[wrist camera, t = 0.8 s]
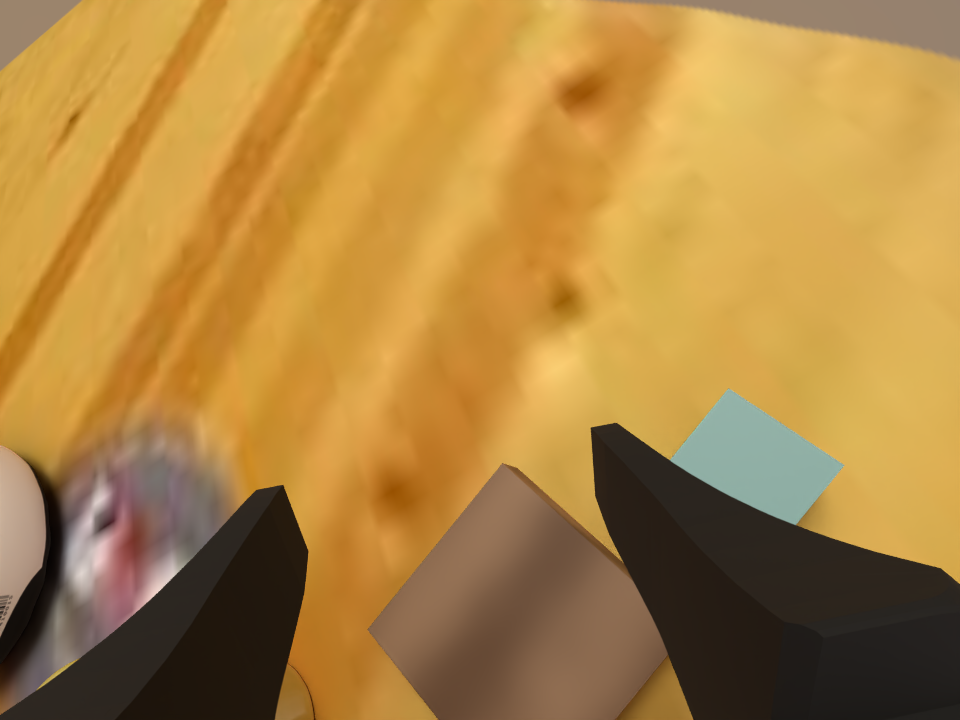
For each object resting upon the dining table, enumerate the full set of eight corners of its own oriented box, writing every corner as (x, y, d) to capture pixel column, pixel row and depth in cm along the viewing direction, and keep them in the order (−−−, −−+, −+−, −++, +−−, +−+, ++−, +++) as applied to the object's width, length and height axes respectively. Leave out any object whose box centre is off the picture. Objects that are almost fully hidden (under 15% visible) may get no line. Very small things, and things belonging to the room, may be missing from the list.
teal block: (812, 475, 24) (844, 465, 19) (746, 556, 24) (762, 565, 19) (719, 411, 25) (728, 388, 21) (658, 486, 25) (654, 479, 21)
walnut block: (686, 618, 24) (687, 630, 21) (542, 794, 24) (525, 829, 21) (519, 468, 28) (502, 463, 26) (397, 618, 28) (367, 629, 26)
